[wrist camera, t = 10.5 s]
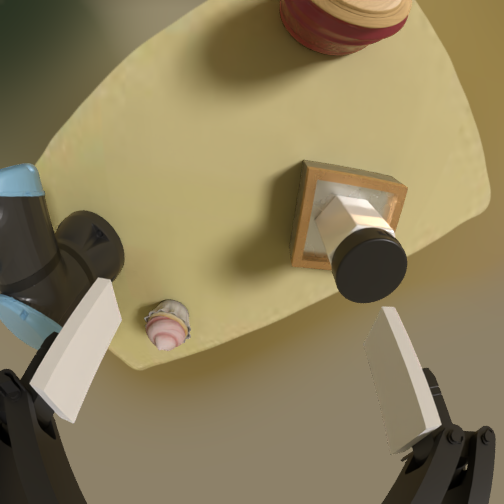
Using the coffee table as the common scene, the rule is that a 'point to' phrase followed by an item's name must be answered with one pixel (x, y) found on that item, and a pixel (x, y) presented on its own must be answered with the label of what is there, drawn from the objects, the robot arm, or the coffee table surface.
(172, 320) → the cupcake
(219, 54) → the coffee table surface
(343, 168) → the small square box
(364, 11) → the canister
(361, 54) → the coffee table surface
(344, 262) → the jar
